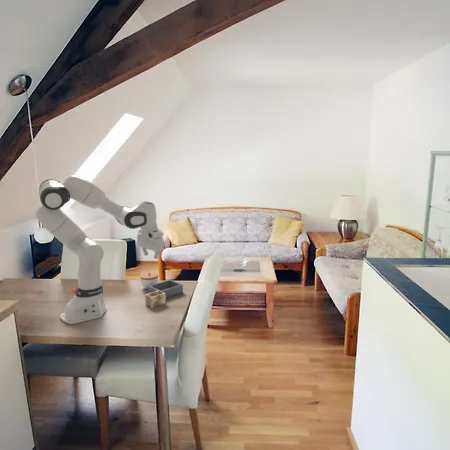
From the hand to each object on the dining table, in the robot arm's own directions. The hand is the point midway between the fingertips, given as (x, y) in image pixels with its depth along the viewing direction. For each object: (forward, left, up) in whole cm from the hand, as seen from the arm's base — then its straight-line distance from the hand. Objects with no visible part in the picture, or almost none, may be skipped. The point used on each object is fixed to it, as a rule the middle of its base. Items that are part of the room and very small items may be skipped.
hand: (151, 256), depth 213 cm
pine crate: (-1, -3, -26) cm, 26 cm away
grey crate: (+12, +6, -26) cm, 29 cm away
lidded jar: (+11, +21, -26) cm, 35 cm away
